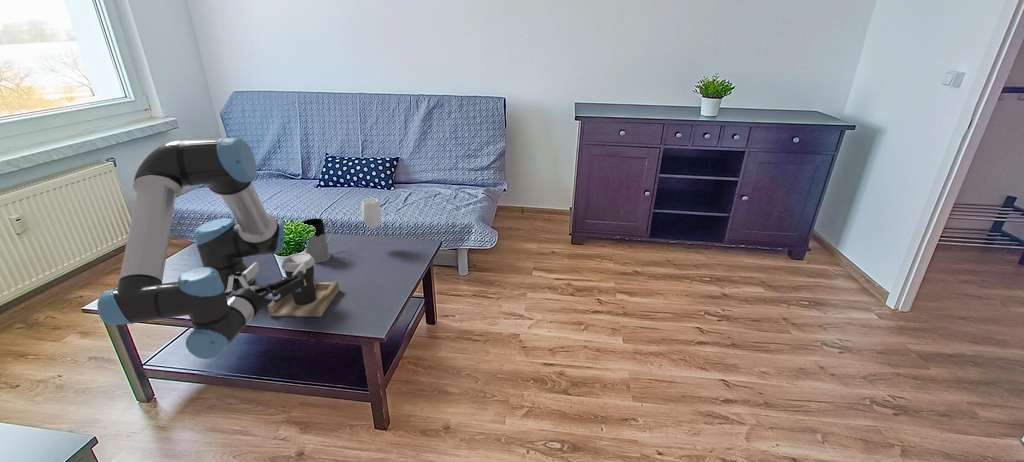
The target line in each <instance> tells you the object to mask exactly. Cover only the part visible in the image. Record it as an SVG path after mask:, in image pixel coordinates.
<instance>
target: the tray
mask: <svg viewBox="0 0 1024 462" xmlns="http://www.w3.org/2000/svg"><path fill="white" fill-rule="evenodd" d="M315 289H316V300H315V301H314V302H312V303H310V304H307V305H297V304H296V303H295V302H294V298H293V295H292V293H290V294H288V295H286V296H285V297H283V298H282V299H281V300H279V301H278V302H274V300H273V299H271V302H270V303H269V304H268V305H266V307H267V311H268V316H270V317H271V316H272V317H315V318H316V317H319V318H320V317H322V316H323V314H324V313H325V311H326V310H327V308H328V307H329V305H330V304H331V302H333V300H334V299H335V297H336V296H337V294H338V293H339V292H340V286H339V281H335V280H334V281H332V282H331V281H329V282H327V281H326V282H325V281H324V282H322V281H321V282H320V281H319V282H317V281H315Z"/></svg>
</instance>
